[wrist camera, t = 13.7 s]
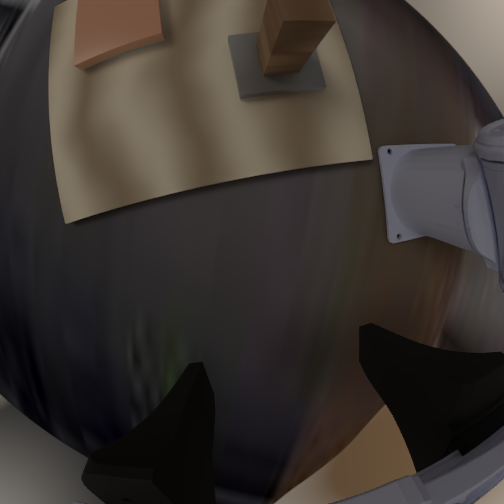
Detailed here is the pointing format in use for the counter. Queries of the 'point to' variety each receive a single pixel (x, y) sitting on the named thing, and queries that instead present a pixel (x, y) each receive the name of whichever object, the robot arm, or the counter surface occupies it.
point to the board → (188, 112)
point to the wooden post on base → (282, 49)
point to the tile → (114, 29)
